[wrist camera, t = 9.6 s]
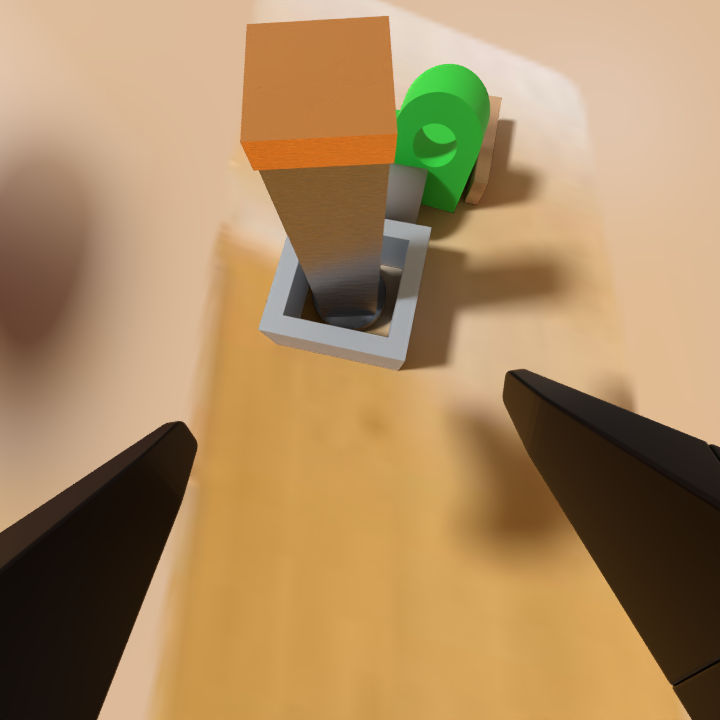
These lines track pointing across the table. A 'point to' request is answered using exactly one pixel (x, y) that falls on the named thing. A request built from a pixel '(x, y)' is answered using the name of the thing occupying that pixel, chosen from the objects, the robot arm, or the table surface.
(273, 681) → the table surface
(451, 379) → the table surface
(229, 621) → the table surface
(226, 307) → the table surface
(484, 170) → the bay rails
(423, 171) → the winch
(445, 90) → the mechanical part
